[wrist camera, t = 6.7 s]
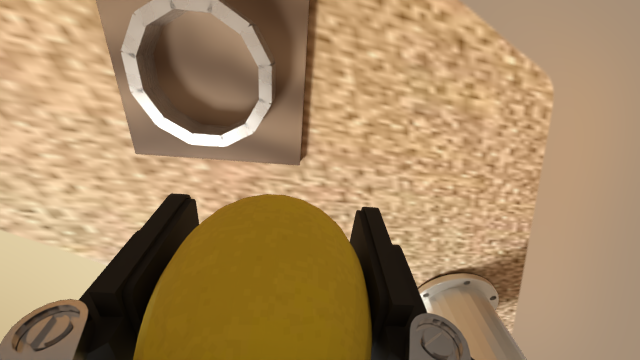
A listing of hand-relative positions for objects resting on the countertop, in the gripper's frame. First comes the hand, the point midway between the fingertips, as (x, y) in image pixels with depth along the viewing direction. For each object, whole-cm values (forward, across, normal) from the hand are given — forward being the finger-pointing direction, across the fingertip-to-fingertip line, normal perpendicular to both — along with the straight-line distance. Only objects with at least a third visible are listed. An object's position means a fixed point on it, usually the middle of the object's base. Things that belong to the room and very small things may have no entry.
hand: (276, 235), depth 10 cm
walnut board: (+18, +8, -2) cm, 20 cm away
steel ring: (+18, +8, -2) cm, 20 cm away
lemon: (+1, 0, 0) cm, 1 cm away
